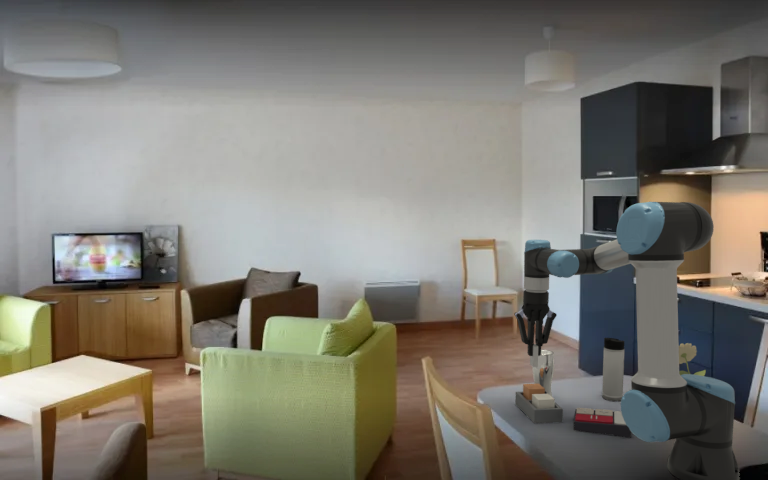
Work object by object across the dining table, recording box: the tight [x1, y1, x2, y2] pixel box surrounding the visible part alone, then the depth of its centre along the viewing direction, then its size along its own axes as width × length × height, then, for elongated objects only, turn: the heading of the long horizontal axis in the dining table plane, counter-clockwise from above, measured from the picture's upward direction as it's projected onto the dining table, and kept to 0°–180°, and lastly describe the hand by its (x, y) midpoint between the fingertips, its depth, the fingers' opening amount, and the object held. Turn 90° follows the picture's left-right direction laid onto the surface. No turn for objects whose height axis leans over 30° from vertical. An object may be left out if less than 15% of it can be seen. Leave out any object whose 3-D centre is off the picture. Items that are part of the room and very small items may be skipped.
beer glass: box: [531, 349, 555, 397], centre depth 197 cm, size 7×7×15 cm
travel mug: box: [601, 337, 625, 402], centre depth 196 cm, size 6×7×20 cm
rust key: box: [522, 383, 545, 400], centre depth 187 cm, size 5×5×4 cm
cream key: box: [532, 394, 556, 409], centre depth 179 cm, size 5×5×4 cm
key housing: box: [514, 391, 564, 424], centre depth 183 cm, size 16×9×4 cm, turn 7°
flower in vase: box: [679, 342, 707, 376], centre depth 169 cm, size 13×11×25 cm
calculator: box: [572, 407, 632, 439], centre depth 172 cm, size 11×4×15 cm
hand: (533, 365), depth 186 cm, fingers closed
